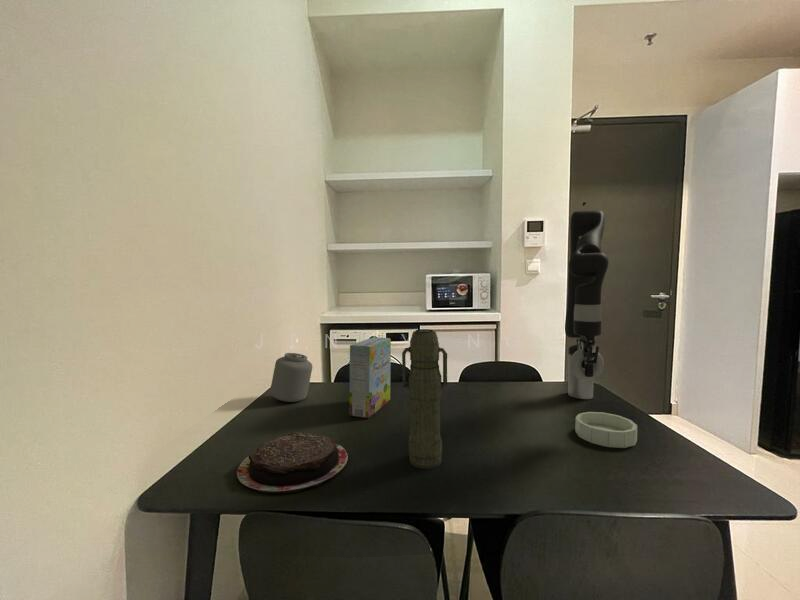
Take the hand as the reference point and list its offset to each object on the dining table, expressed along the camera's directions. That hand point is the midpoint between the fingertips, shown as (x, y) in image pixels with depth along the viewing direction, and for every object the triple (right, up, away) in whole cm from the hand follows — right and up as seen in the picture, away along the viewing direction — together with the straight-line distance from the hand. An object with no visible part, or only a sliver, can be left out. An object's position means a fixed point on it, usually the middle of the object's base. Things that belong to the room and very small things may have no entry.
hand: (586, 374), depth 113 cm
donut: (0, -2, 0) cm, 2 cm away
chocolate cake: (-85, -21, -16) cm, 89 cm away
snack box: (-68, -18, +27) cm, 75 cm away
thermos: (-50, -20, -14) cm, 56 cm away
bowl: (+6, -19, 0) cm, 20 cm away
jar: (-101, -18, +38) cm, 109 cm away
